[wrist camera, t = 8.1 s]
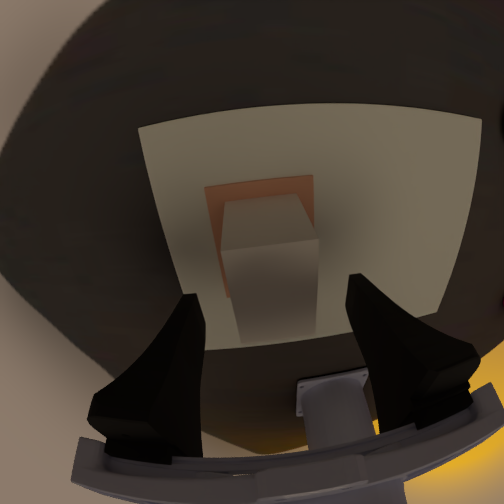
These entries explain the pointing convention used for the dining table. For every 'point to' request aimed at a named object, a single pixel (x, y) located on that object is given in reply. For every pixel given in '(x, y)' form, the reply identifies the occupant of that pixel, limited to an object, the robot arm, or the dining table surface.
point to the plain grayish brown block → (271, 267)
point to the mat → (323, 198)
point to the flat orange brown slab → (254, 189)
